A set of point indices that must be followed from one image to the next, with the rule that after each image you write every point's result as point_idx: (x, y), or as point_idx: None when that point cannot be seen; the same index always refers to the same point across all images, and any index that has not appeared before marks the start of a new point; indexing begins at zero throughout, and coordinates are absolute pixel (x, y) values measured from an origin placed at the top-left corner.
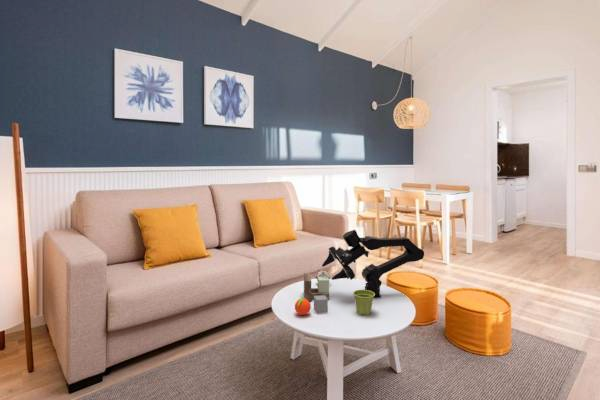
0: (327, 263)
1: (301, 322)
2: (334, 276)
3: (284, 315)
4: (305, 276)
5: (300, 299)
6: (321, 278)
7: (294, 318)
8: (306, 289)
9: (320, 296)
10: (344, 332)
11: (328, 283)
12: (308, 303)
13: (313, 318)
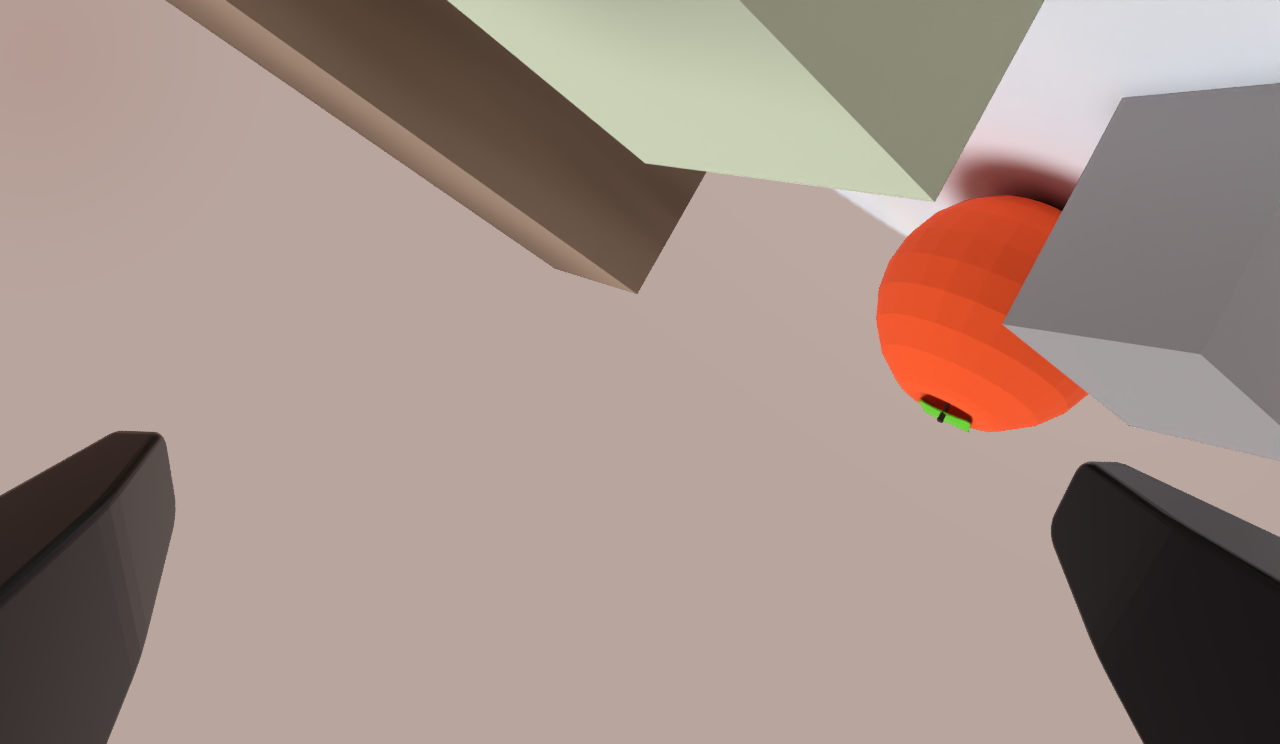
0: (34, 685)
1: None
2: (1143, 681)
3: (877, 204)
4: (263, 61)
5: (920, 403)
6: (552, 31)
7: None
8: None
9: (1132, 365)
10: None
11: (986, 64)
12: (1056, 414)
13: None
